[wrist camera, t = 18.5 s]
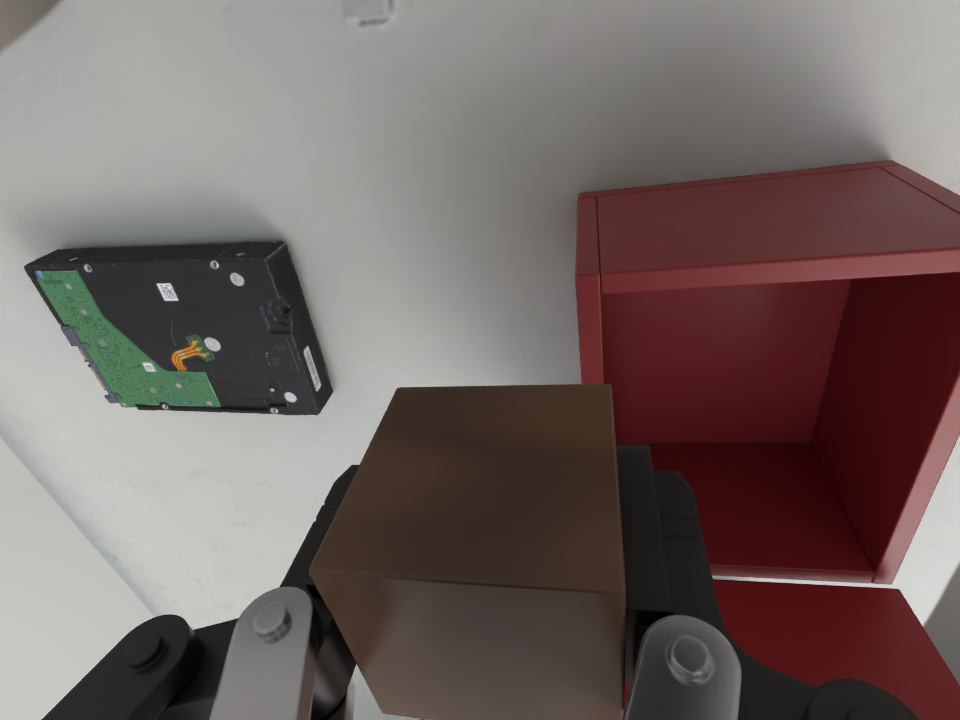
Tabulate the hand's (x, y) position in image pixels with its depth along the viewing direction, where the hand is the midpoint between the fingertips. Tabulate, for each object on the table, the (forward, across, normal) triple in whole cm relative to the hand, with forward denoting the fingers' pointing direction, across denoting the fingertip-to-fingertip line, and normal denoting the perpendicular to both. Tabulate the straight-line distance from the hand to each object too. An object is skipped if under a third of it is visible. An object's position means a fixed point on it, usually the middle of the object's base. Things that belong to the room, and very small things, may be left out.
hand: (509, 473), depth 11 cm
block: (0, 0, 0) cm, 0 cm away
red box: (+17, -8, +7) cm, 19 cm away
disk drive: (+17, +21, +5) cm, 28 cm away
